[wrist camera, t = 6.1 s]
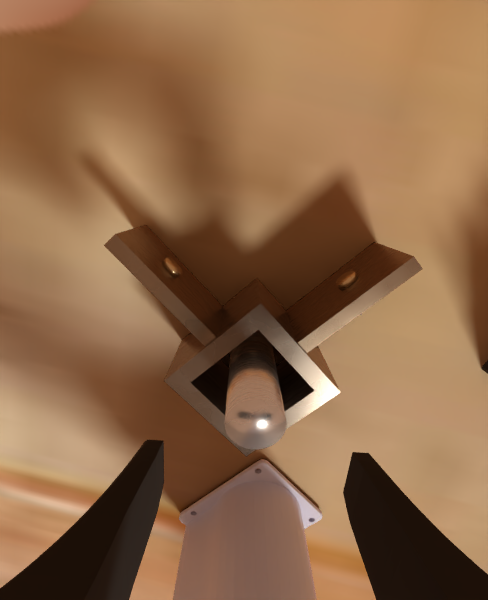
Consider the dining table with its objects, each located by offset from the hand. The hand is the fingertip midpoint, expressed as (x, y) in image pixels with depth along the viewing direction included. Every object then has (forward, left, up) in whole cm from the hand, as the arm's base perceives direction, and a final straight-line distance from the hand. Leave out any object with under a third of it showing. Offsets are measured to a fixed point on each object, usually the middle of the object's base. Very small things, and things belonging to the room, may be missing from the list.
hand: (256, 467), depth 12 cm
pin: (0, 0, -10) cm, 10 cm away
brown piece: (+3, +3, -10) cm, 11 cm away
